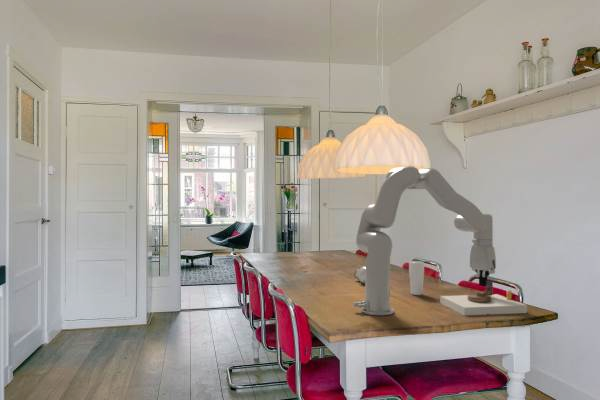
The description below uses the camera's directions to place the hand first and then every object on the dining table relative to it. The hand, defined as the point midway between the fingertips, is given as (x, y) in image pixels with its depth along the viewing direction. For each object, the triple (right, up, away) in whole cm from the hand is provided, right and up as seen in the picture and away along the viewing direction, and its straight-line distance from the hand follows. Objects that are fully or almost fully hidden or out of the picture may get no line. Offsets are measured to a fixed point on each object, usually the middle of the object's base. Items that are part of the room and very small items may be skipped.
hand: (483, 285), depth 190 cm
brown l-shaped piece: (-3, -4, -7) cm, 9 cm away
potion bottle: (-44, -7, +44) cm, 63 cm away
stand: (-4, -7, -9) cm, 12 cm away
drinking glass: (-24, -7, +16) cm, 30 cm away
